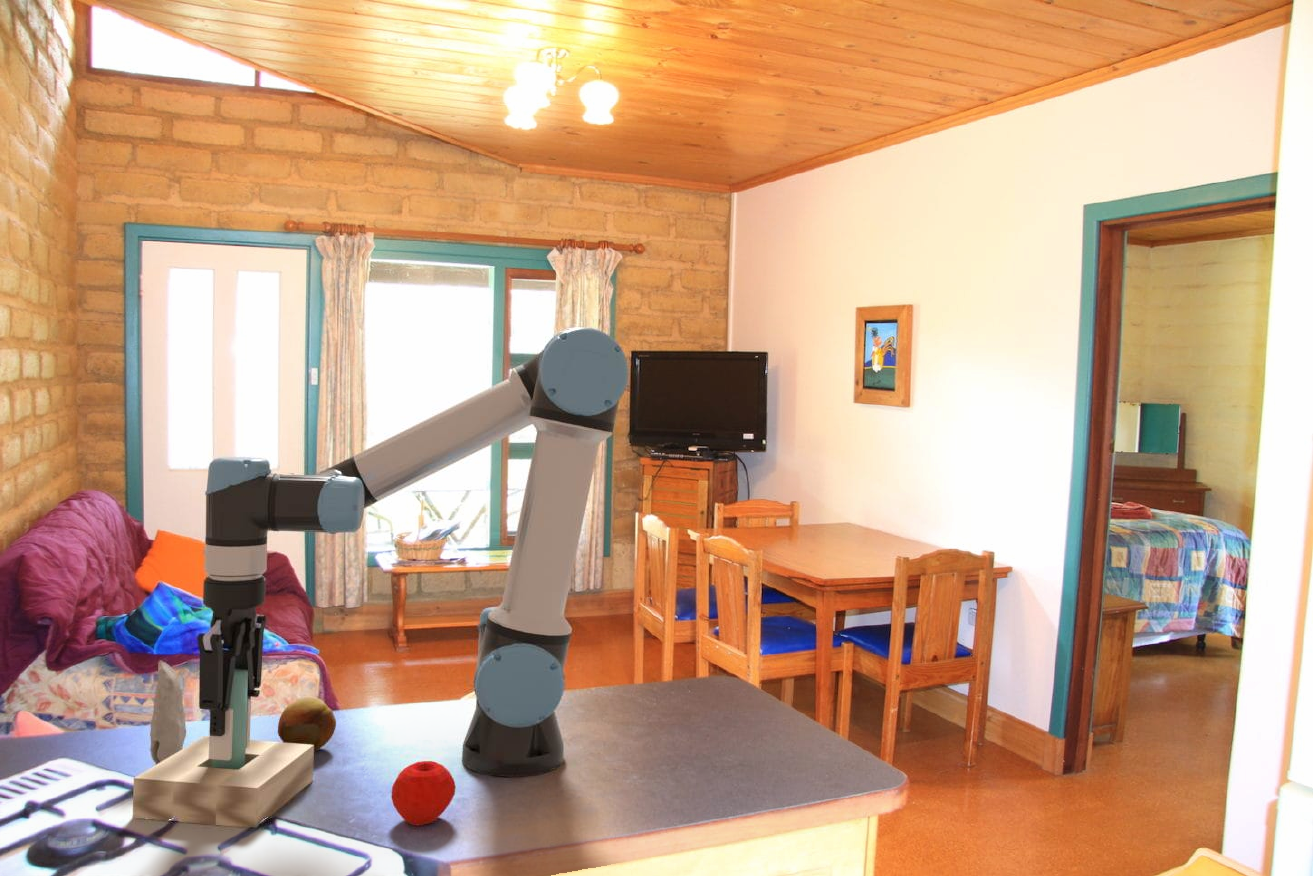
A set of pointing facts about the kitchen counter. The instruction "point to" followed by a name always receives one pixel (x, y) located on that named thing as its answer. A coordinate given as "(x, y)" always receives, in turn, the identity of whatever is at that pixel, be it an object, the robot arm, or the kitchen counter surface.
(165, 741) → the stone tool
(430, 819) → the apple
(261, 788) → the socket block
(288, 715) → the fruit
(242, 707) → the peg
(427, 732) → the kitchen counter surface
